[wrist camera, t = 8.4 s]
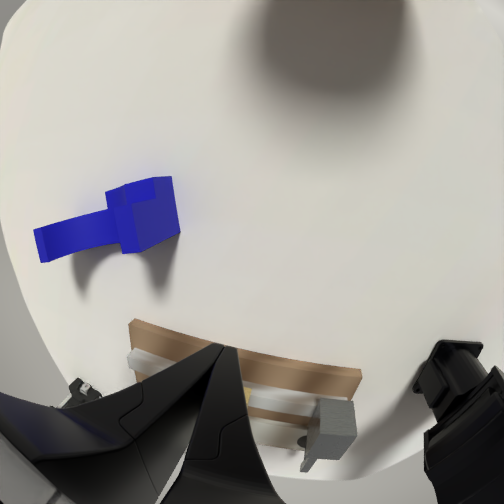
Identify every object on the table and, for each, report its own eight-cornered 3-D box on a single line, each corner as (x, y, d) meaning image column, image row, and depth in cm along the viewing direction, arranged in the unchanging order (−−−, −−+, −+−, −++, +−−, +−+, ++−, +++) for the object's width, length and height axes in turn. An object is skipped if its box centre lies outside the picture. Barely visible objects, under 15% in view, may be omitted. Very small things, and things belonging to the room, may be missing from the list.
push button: (108, 391, 30) (69, 436, 20) (112, 411, 31) (79, 453, 22) (74, 370, 30) (34, 408, 21) (80, 391, 32) (45, 428, 23)
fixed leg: (352, 394, 20) (357, 436, 15) (318, 451, 23) (316, 485, 19) (320, 390, 21) (320, 433, 16) (292, 448, 24) (287, 483, 19)
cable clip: (172, 176, 20) (127, 179, 14) (181, 231, 21) (140, 252, 16) (74, 202, 23) (30, 212, 17) (83, 245, 24) (40, 263, 18)
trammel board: (360, 369, 21) (364, 389, 19) (319, 444, 25) (319, 462, 23) (134, 318, 24) (119, 332, 22) (146, 401, 28) (136, 415, 26)
